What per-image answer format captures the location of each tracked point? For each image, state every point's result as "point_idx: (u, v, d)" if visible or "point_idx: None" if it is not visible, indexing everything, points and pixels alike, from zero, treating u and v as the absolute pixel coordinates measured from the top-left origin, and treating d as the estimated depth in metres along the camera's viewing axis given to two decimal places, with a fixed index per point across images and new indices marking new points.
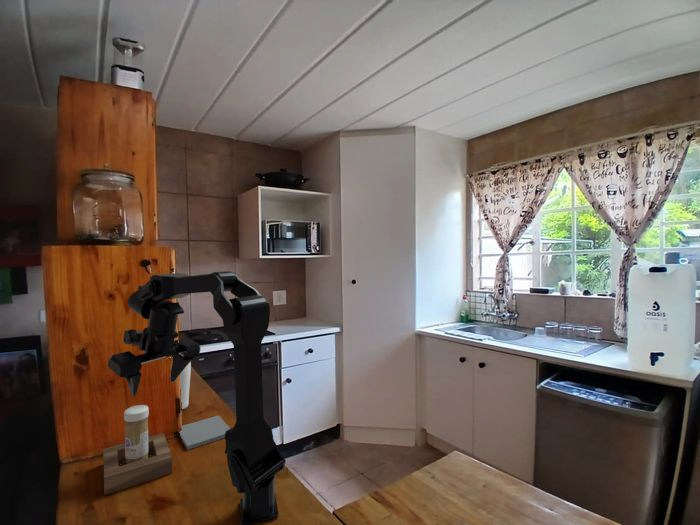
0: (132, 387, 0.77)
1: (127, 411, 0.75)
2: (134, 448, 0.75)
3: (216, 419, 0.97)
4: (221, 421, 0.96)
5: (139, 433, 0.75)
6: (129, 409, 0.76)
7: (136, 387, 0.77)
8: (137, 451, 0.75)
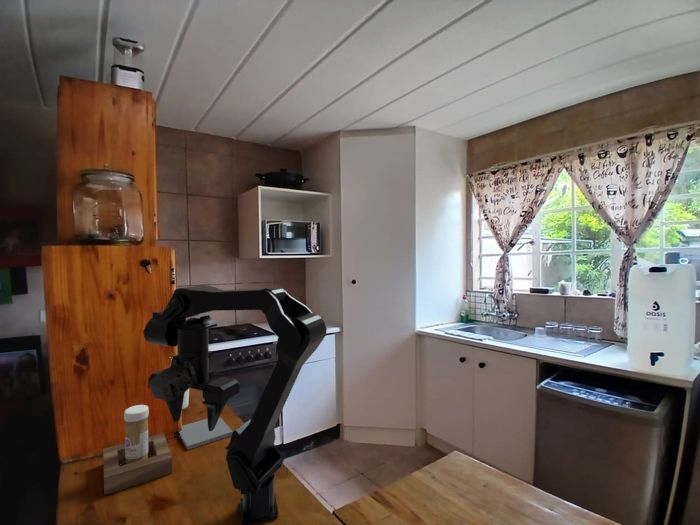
0: (219, 414, 0.69)
1: (127, 411, 0.75)
2: (134, 448, 0.75)
3: None
4: (221, 421, 0.96)
5: (139, 433, 0.75)
6: (129, 409, 0.76)
7: None
8: (137, 451, 0.75)
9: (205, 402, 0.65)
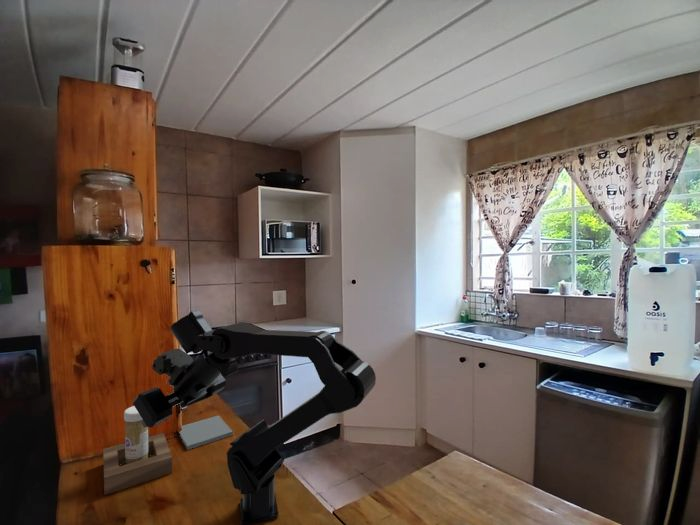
0: None
1: (127, 411, 0.75)
2: (135, 448, 0.75)
3: (216, 419, 0.97)
4: (221, 421, 0.96)
5: (139, 433, 0.75)
6: (129, 409, 0.76)
7: None
8: (137, 451, 0.75)
9: None
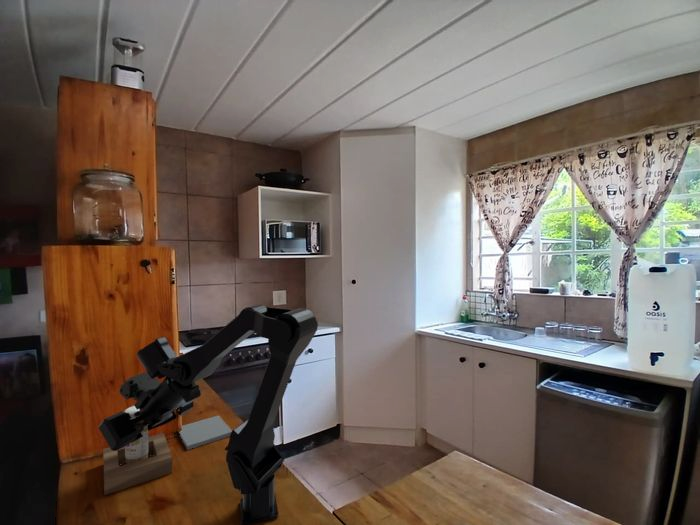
0: None
1: (127, 411, 0.75)
2: (134, 448, 0.75)
3: (216, 419, 0.97)
4: (221, 421, 0.96)
5: None
6: (129, 409, 0.76)
7: None
8: (137, 451, 0.75)
9: None
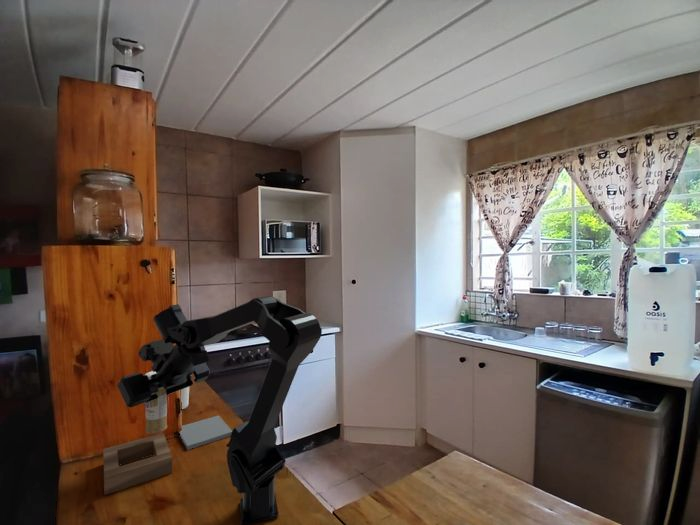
0: None
1: (147, 374, 0.80)
2: (153, 410, 0.79)
3: (216, 419, 0.97)
4: (221, 421, 0.96)
5: None
6: (149, 373, 0.81)
7: None
8: (155, 413, 0.79)
9: (144, 376, 0.77)
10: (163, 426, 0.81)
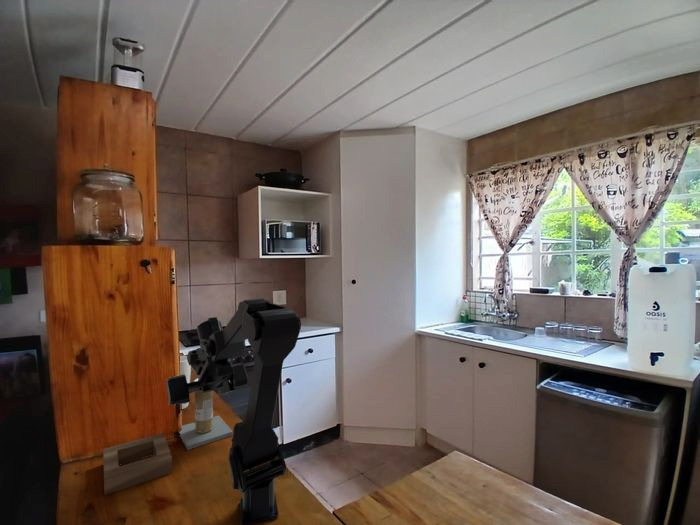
0: None
1: (196, 380, 0.90)
2: (199, 412, 0.89)
3: (216, 419, 0.97)
4: (221, 421, 0.96)
5: (202, 400, 0.89)
6: None
7: None
8: (200, 415, 0.89)
9: None
10: (208, 427, 0.90)
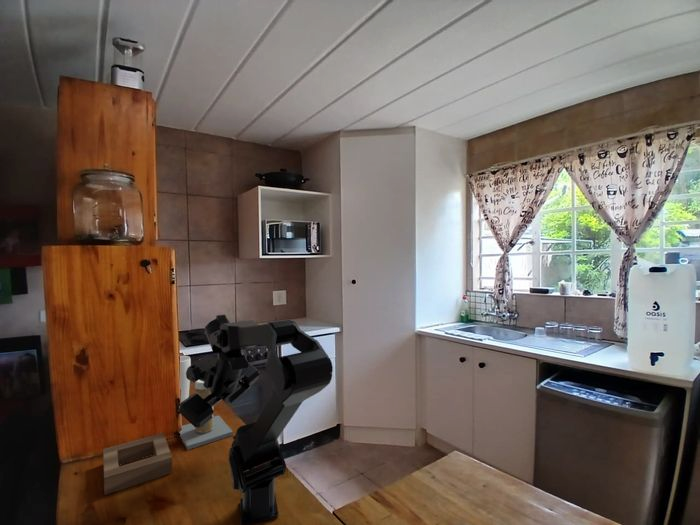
0: None
1: None
2: None
3: (216, 419, 0.97)
4: (221, 421, 0.96)
5: None
6: None
7: None
8: None
9: None
10: (208, 428, 0.90)
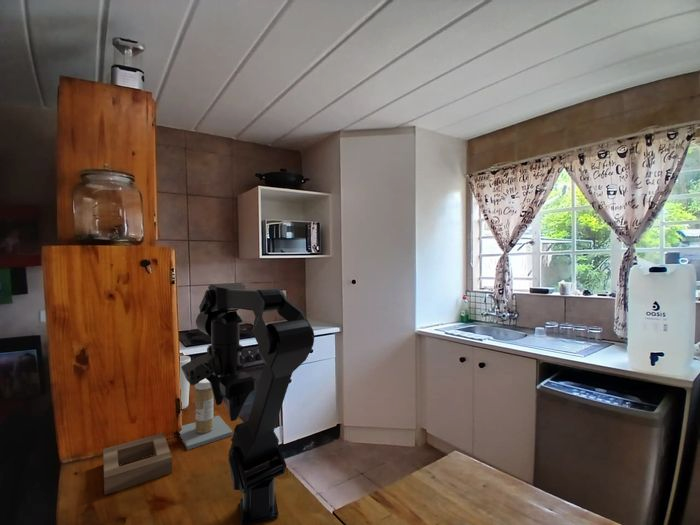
0: (240, 407, 0.72)
1: None
2: (199, 412, 0.89)
3: (216, 419, 0.97)
4: (221, 421, 0.96)
5: (203, 400, 0.89)
6: None
7: None
8: (201, 415, 0.89)
9: None
10: (208, 428, 0.90)
